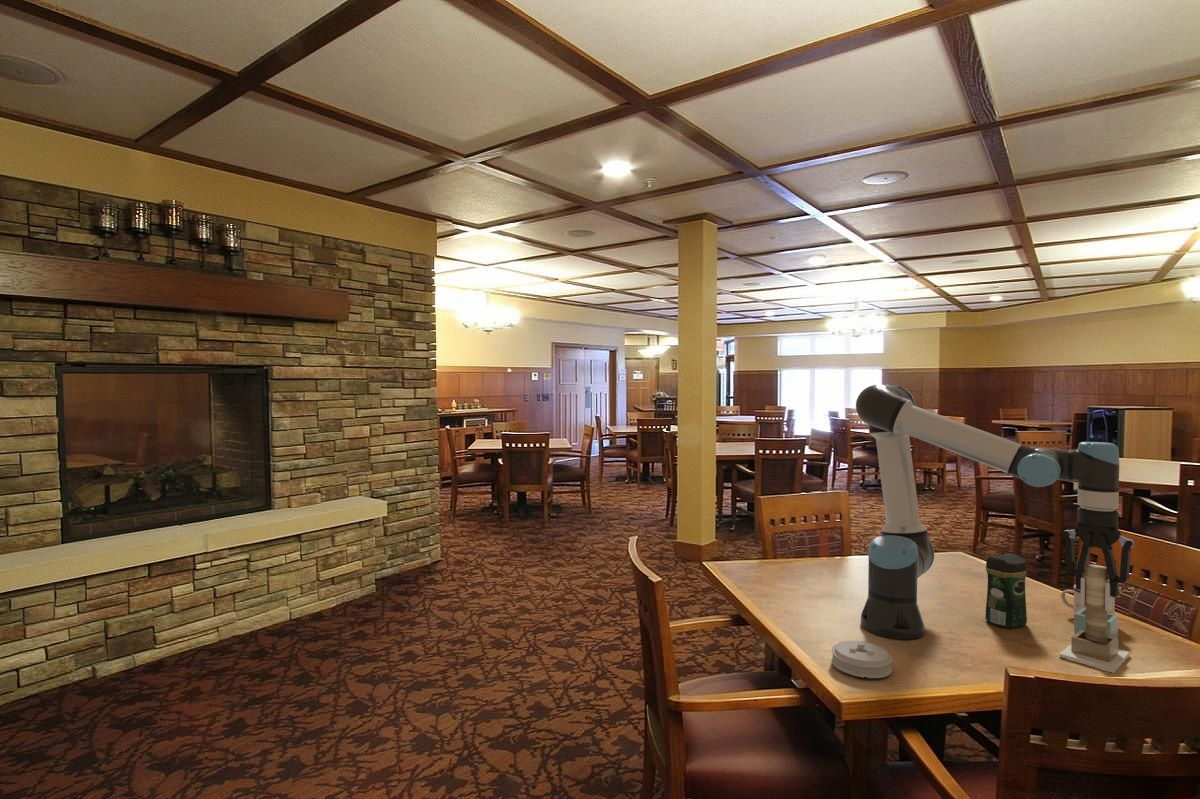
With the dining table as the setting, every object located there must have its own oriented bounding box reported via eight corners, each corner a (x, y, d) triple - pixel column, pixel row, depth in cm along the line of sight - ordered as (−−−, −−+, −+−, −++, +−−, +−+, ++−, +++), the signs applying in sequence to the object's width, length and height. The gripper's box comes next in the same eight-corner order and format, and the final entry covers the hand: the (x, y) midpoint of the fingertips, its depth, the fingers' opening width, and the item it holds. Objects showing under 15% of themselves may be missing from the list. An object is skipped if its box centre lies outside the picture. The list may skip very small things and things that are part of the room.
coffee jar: (1002, 615, 173) (1004, 549, 172) (1032, 625, 165) (1033, 556, 165) (979, 620, 169) (980, 553, 168) (1007, 631, 162) (1009, 560, 161)
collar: (1109, 662, 141) (1110, 647, 141) (1071, 651, 147) (1071, 637, 147) (1118, 654, 146) (1118, 639, 145) (1080, 643, 151) (1080, 629, 151)
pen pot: (1109, 646, 152) (1110, 622, 152) (1074, 637, 158) (1074, 613, 158) (1117, 639, 157) (1118, 615, 156) (1082, 630, 162) (1083, 607, 162)
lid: (870, 655, 148) (870, 634, 147) (904, 680, 135) (904, 657, 135) (821, 658, 146) (821, 637, 146) (850, 684, 133) (850, 661, 133)
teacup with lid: (1120, 623, 167) (1121, 580, 167) (1108, 631, 162) (1109, 587, 161) (1067, 610, 177) (1067, 569, 176) (1054, 617, 171) (1055, 575, 171)
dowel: (1104, 643, 143) (1105, 570, 143) (1082, 638, 146) (1083, 566, 146) (1108, 639, 146) (1110, 567, 145) (1087, 633, 149) (1088, 563, 148)
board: (1113, 673, 138) (1113, 668, 138) (1059, 657, 146) (1059, 653, 146) (1129, 656, 147) (1129, 652, 147) (1077, 642, 154) (1077, 638, 154)
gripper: (1149, 511, 141) (1147, 613, 141) (1059, 500, 154) (1058, 594, 155) (1140, 515, 136) (1139, 621, 137) (1049, 504, 150) (1048, 600, 150)
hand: (1096, 606), depth 146 cm, fingers closed on dowel, 4 cm apart
